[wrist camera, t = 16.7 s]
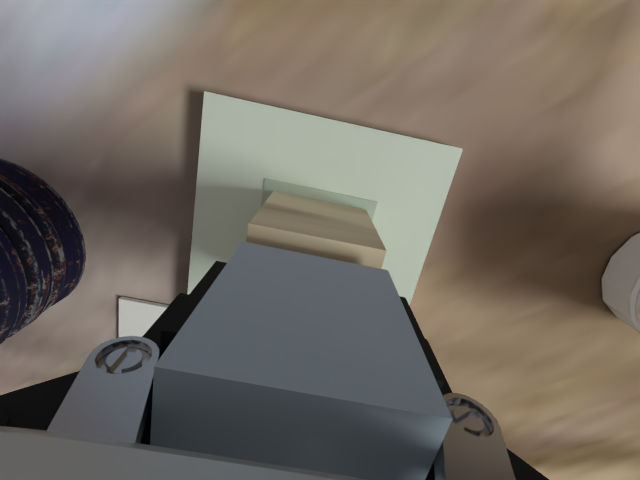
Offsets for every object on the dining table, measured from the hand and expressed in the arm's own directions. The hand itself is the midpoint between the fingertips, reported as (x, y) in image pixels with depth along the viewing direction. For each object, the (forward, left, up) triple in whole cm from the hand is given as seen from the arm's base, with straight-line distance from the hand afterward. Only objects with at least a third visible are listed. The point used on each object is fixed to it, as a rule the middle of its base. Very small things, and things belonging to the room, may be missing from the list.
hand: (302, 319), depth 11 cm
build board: (0, 0, -9) cm, 9 cm away
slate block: (0, 0, -1) cm, 1 cm away
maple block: (0, 0, -7) cm, 7 cm away
